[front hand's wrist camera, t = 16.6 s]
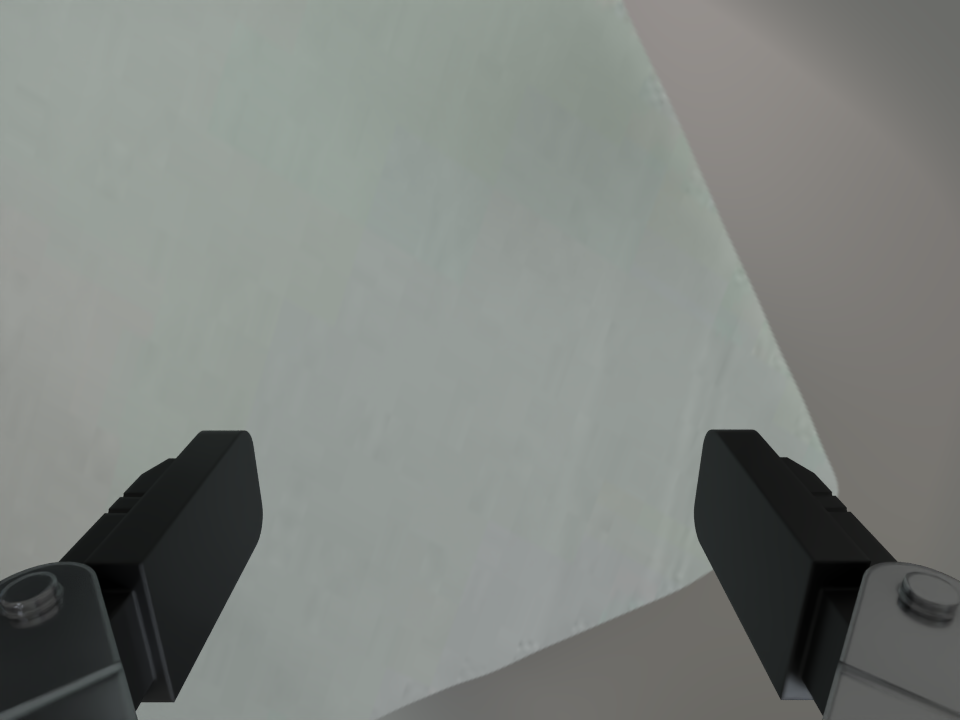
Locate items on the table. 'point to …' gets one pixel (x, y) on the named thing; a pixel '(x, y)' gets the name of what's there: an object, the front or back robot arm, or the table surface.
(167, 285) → the table surface
